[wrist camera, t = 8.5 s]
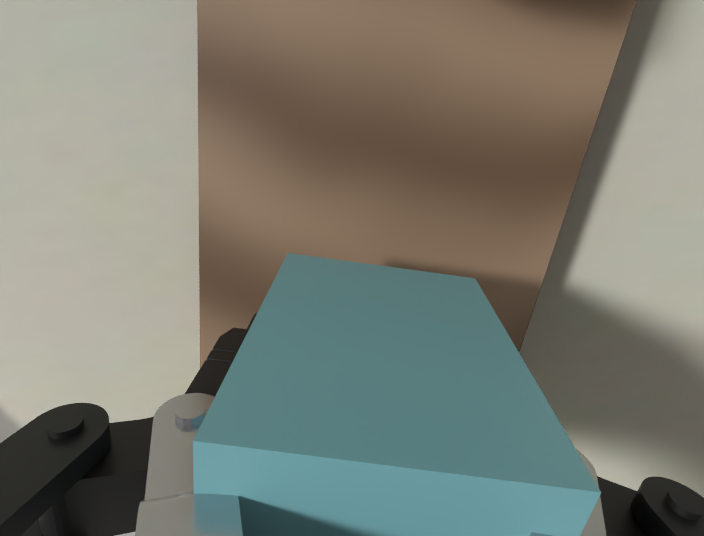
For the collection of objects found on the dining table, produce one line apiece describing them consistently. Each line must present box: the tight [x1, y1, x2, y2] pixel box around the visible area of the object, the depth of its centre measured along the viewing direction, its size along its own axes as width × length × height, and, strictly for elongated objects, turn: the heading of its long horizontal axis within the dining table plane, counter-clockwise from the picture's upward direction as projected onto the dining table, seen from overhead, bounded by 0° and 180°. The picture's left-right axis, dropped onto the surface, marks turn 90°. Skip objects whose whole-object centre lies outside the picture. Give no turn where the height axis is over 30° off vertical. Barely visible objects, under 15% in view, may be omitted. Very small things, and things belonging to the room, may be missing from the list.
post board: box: [197, 0, 637, 368], centre depth 12 cm, size 20×12×6 cm, turn 173°
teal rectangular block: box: [193, 253, 601, 536], centre depth 9 cm, size 5×5×7 cm
